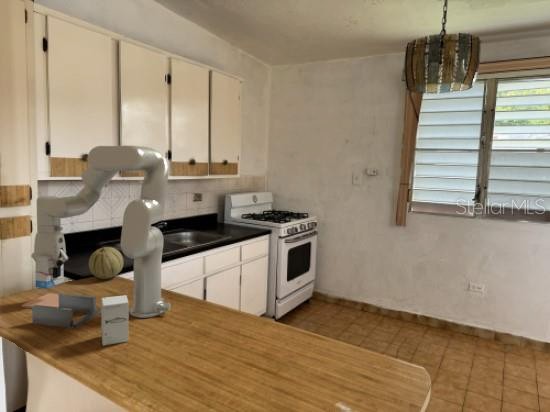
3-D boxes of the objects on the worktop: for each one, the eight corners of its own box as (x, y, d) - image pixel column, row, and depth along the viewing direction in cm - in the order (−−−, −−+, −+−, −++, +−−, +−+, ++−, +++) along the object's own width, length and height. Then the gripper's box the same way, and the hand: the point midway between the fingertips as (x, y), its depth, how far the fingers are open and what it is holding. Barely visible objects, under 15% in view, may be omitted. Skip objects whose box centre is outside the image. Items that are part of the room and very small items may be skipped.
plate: (78, 298, 145) (78, 296, 145) (53, 310, 133) (53, 308, 133) (48, 295, 147) (48, 293, 147) (21, 307, 135) (21, 304, 135)
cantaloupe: (124, 272, 181) (123, 242, 180) (122, 281, 168) (122, 249, 166) (90, 274, 176) (90, 243, 175) (86, 284, 162) (86, 250, 161)
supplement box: (102, 346, 108) (101, 305, 107) (101, 336, 115) (100, 297, 114) (129, 342, 112) (128, 302, 110) (126, 332, 118) (126, 294, 117)
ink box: (46, 289, 135) (45, 257, 133) (35, 287, 136) (34, 256, 134) (64, 282, 143) (63, 252, 142) (53, 280, 144) (52, 251, 143)
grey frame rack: (100, 313, 132) (100, 297, 131) (75, 328, 119) (75, 310, 119) (61, 308, 134) (60, 293, 134) (32, 323, 122) (32, 306, 121)
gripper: (76, 229, 139) (77, 275, 141) (36, 226, 142) (37, 271, 144) (62, 232, 132) (63, 281, 134) (20, 229, 135) (22, 277, 137)
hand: (50, 275), depth 139 cm, fingers closed on ink box, 5 cm apart
